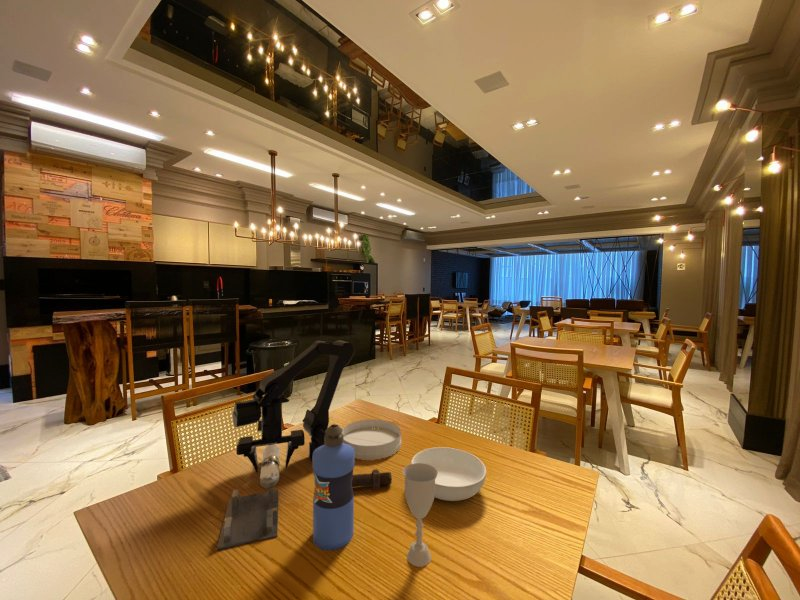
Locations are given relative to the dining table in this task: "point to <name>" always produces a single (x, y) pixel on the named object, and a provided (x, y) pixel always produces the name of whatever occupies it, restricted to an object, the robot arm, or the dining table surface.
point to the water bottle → (333, 491)
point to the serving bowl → (453, 472)
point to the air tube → (270, 466)
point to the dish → (372, 438)
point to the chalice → (419, 506)
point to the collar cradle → (250, 518)
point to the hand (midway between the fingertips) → (272, 469)
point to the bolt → (372, 479)
